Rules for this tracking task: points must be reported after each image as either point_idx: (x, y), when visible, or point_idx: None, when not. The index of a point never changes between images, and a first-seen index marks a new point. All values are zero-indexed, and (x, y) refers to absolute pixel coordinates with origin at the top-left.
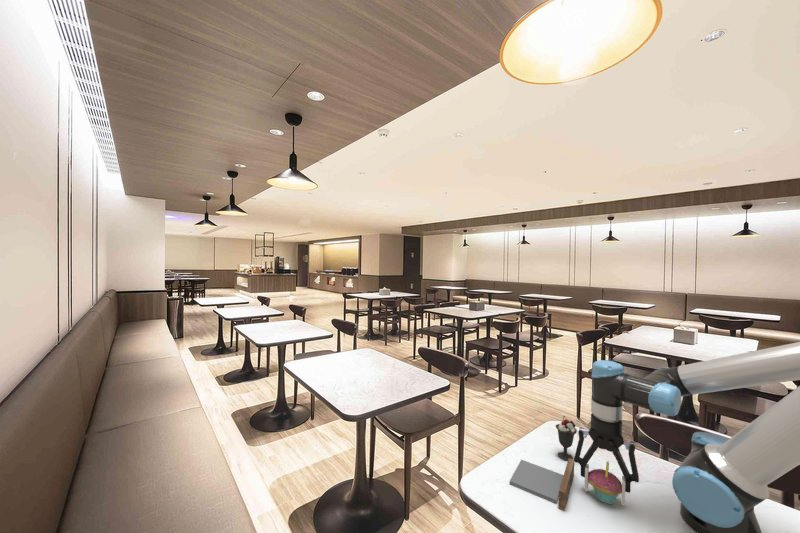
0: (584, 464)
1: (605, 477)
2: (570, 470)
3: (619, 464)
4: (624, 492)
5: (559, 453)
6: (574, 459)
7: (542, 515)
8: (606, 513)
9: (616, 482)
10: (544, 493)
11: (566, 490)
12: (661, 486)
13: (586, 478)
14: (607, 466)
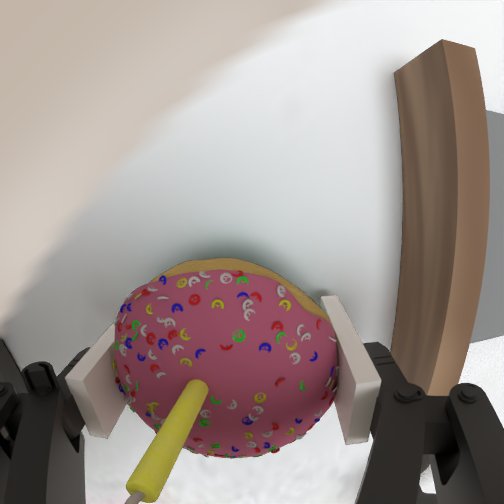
0: (396, 404)
1: (201, 372)
2: (445, 343)
3: (37, 483)
4: (104, 335)
5: (425, 466)
6: (481, 395)
7: (448, 6)
8: (208, 198)
9: (129, 367)
10: (495, 125)
11: (444, 97)
12: (100, 474)
13: (345, 334)
14: (152, 454)
